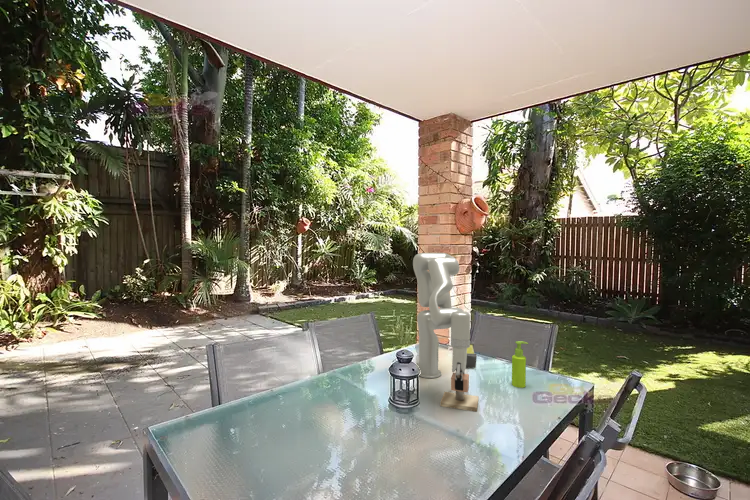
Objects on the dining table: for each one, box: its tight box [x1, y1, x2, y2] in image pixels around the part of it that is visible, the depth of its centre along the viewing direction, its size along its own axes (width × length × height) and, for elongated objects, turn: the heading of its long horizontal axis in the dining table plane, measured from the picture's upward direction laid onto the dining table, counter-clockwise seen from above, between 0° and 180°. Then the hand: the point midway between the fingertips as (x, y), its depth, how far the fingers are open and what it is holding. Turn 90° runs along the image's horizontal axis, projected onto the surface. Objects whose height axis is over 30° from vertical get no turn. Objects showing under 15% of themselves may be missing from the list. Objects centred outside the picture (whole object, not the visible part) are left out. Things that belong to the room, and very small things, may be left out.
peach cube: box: [450, 372, 470, 393], centre depth 143 cm, size 6×6×5 cm
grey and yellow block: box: [466, 340, 478, 368], centre depth 200 cm, size 8×17×30 cm
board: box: [439, 391, 479, 412], centre depth 144 cm, size 14×11×10 cm
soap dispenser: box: [511, 340, 529, 389], centre depth 162 cm, size 6×7×20 cm
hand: (460, 386), depth 143 cm, fingers closed on peach cube, 6 cm apart
